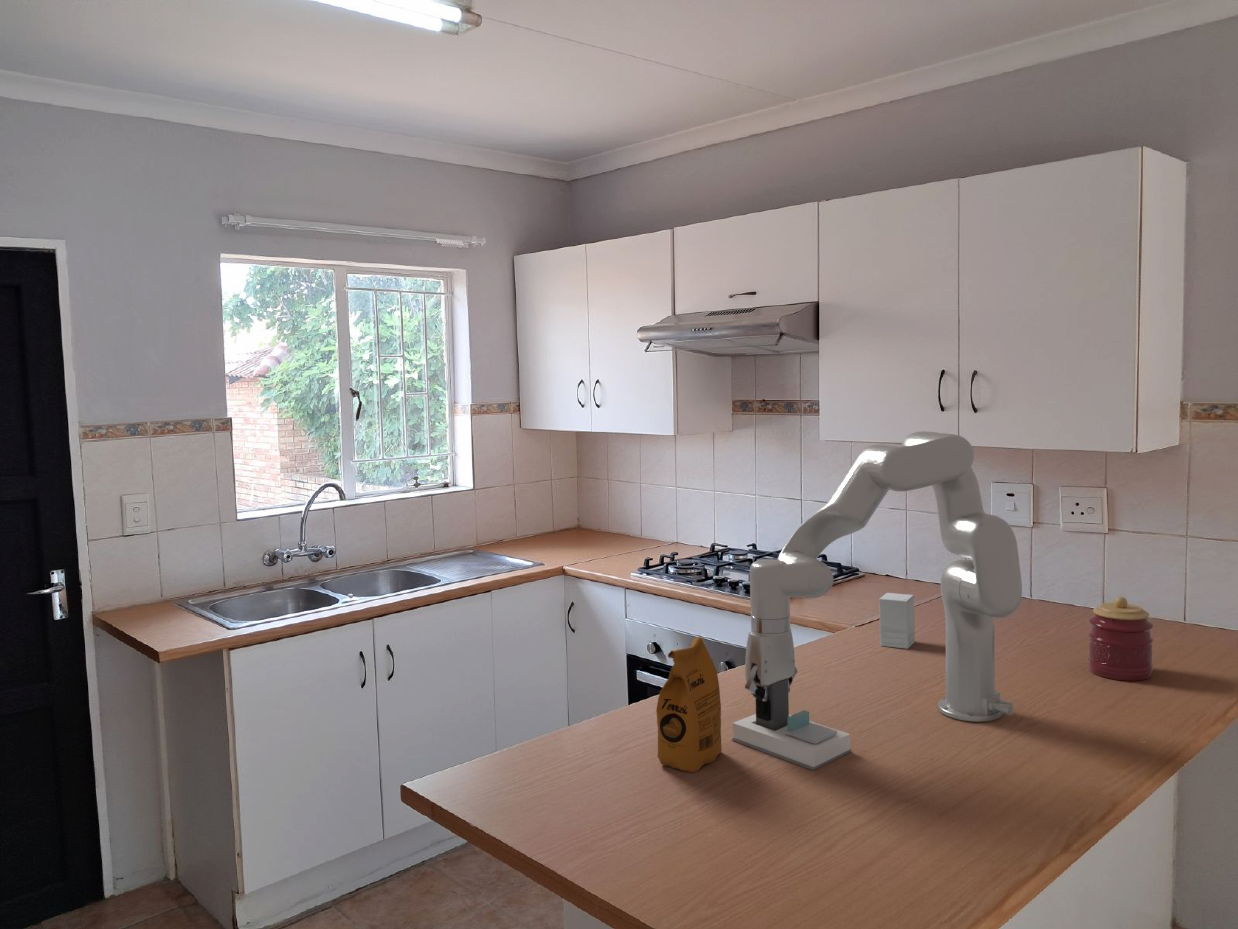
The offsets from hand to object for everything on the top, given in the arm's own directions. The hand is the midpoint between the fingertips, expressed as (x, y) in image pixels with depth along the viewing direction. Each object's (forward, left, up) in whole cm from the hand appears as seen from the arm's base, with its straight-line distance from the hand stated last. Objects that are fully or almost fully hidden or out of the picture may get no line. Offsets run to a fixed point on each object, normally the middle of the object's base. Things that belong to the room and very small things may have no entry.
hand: (772, 714), depth 179 cm
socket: (-4, 0, -5) cm, 7 cm away
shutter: (-9, 0, -1) cm, 9 cm away
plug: (0, 0, -3) cm, 3 cm away
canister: (-32, -85, -5) cm, 90 cm away
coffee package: (+5, +17, -5) cm, 19 cm away
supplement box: (+17, -71, -5) cm, 73 cm away
